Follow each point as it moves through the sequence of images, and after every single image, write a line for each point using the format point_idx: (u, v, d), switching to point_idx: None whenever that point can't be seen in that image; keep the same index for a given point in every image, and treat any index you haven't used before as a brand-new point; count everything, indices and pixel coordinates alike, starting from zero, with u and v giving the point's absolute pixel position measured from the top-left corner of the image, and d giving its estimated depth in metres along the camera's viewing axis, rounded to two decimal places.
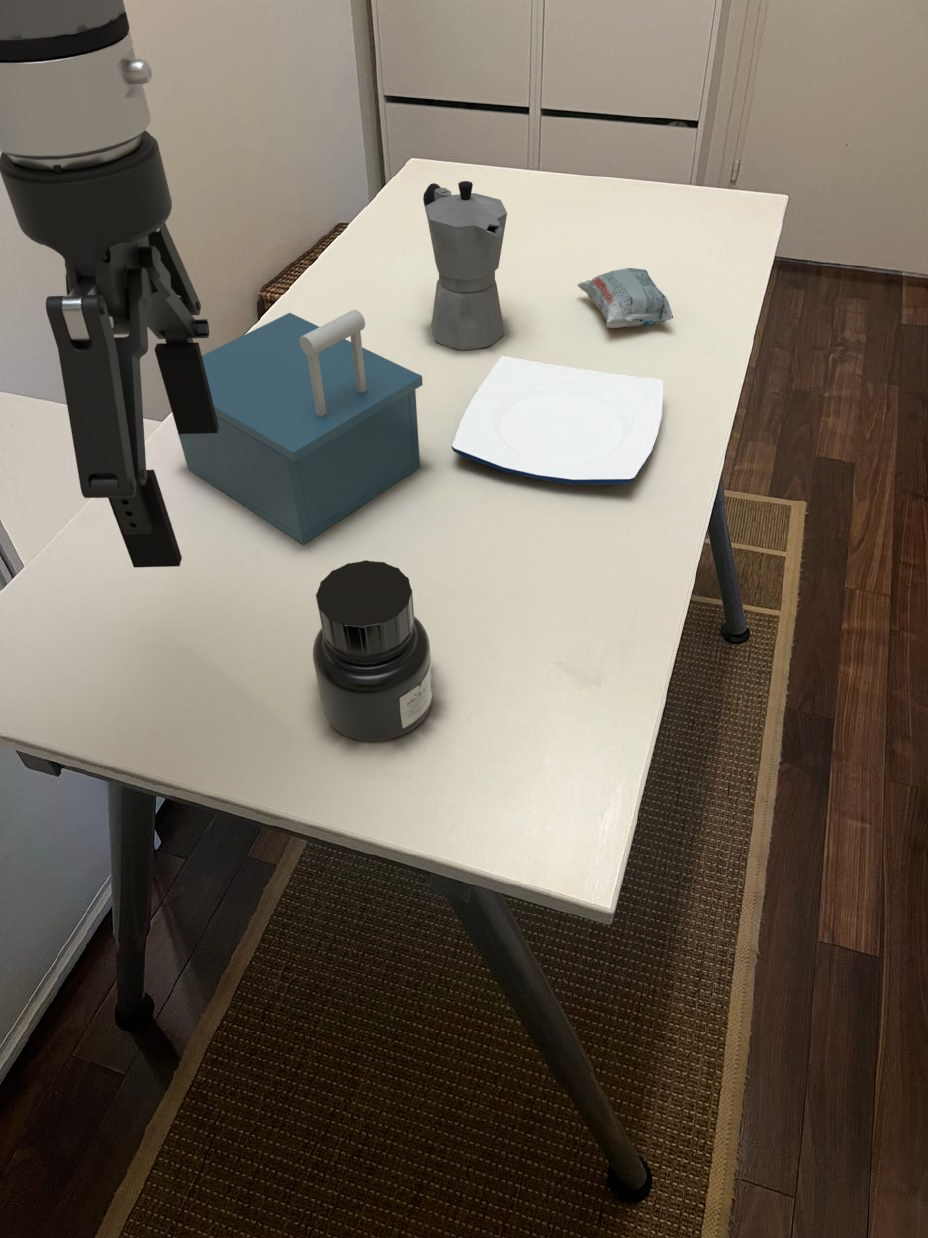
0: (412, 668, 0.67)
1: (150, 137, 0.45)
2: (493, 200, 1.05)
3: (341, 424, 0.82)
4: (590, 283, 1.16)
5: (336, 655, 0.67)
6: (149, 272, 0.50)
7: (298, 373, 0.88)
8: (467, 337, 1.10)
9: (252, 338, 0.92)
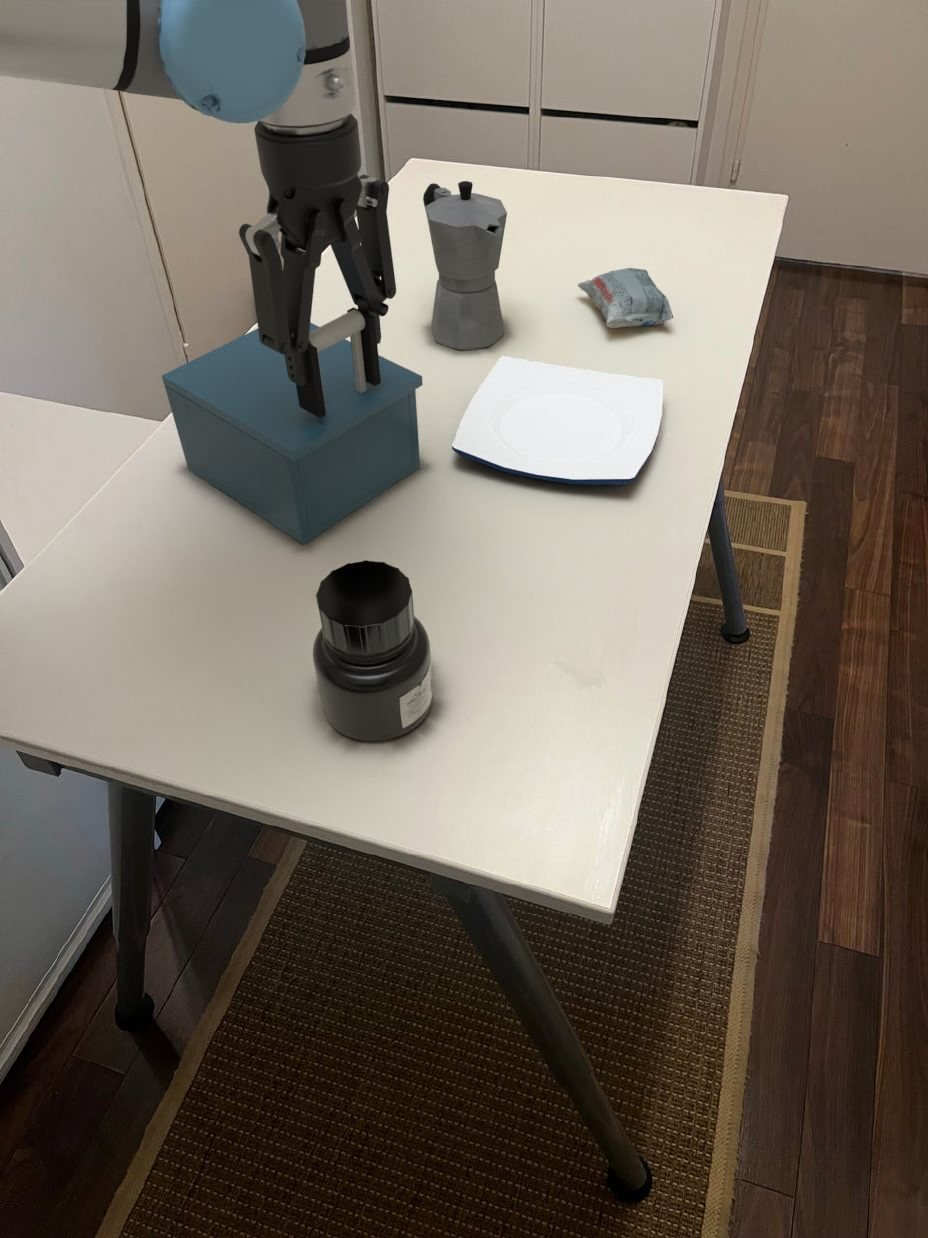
0: (412, 668, 0.67)
1: (347, 127, 0.66)
2: (493, 200, 1.05)
3: (341, 424, 0.82)
4: (590, 283, 1.16)
5: (336, 655, 0.67)
6: None
7: None
8: (467, 337, 1.10)
9: (252, 338, 0.92)
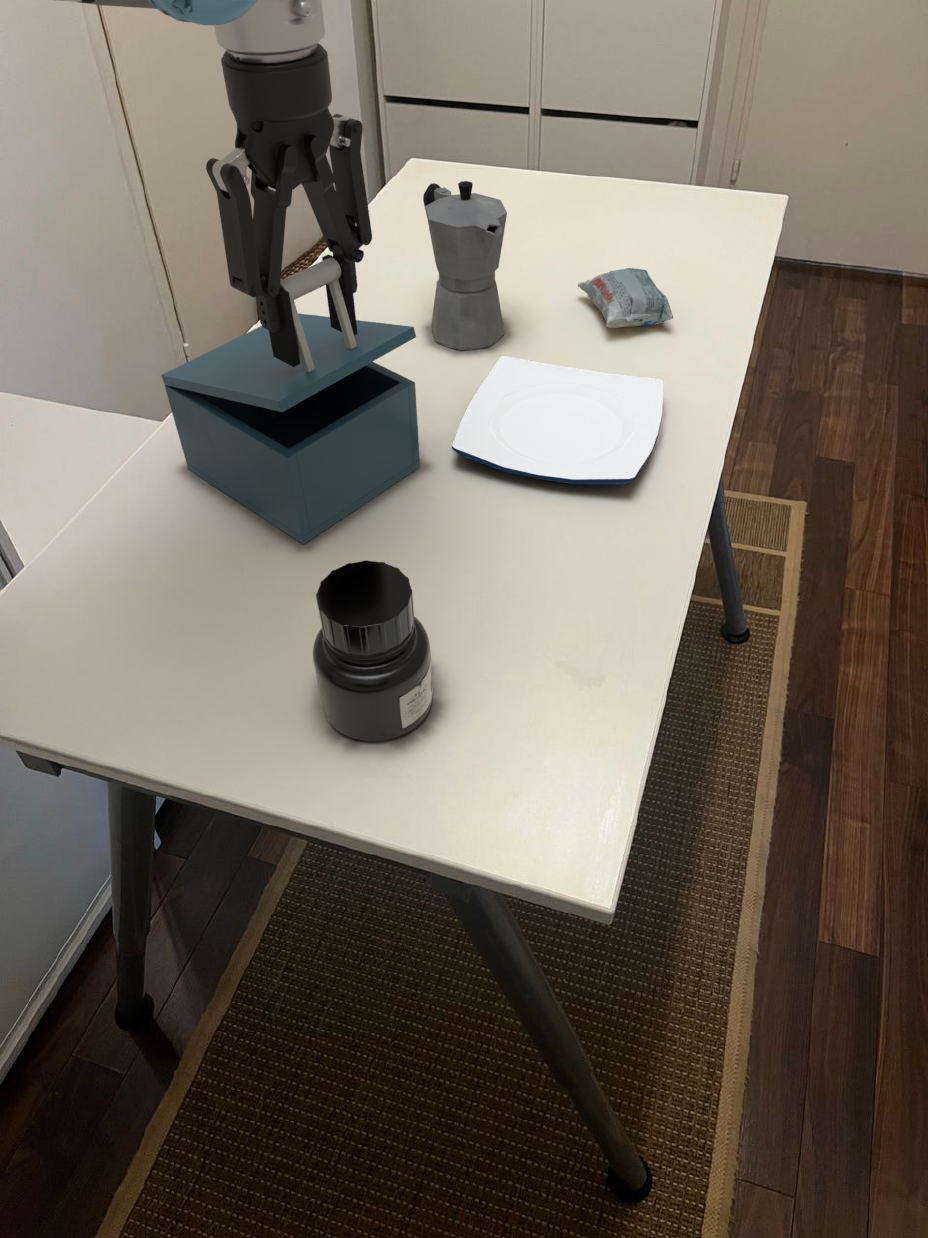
0: (412, 668, 0.67)
1: (315, 56, 0.64)
2: (493, 200, 1.05)
3: (329, 373, 0.79)
4: (590, 283, 1.16)
5: (336, 655, 0.67)
6: None
7: None
8: (467, 337, 1.10)
9: (250, 335, 0.92)
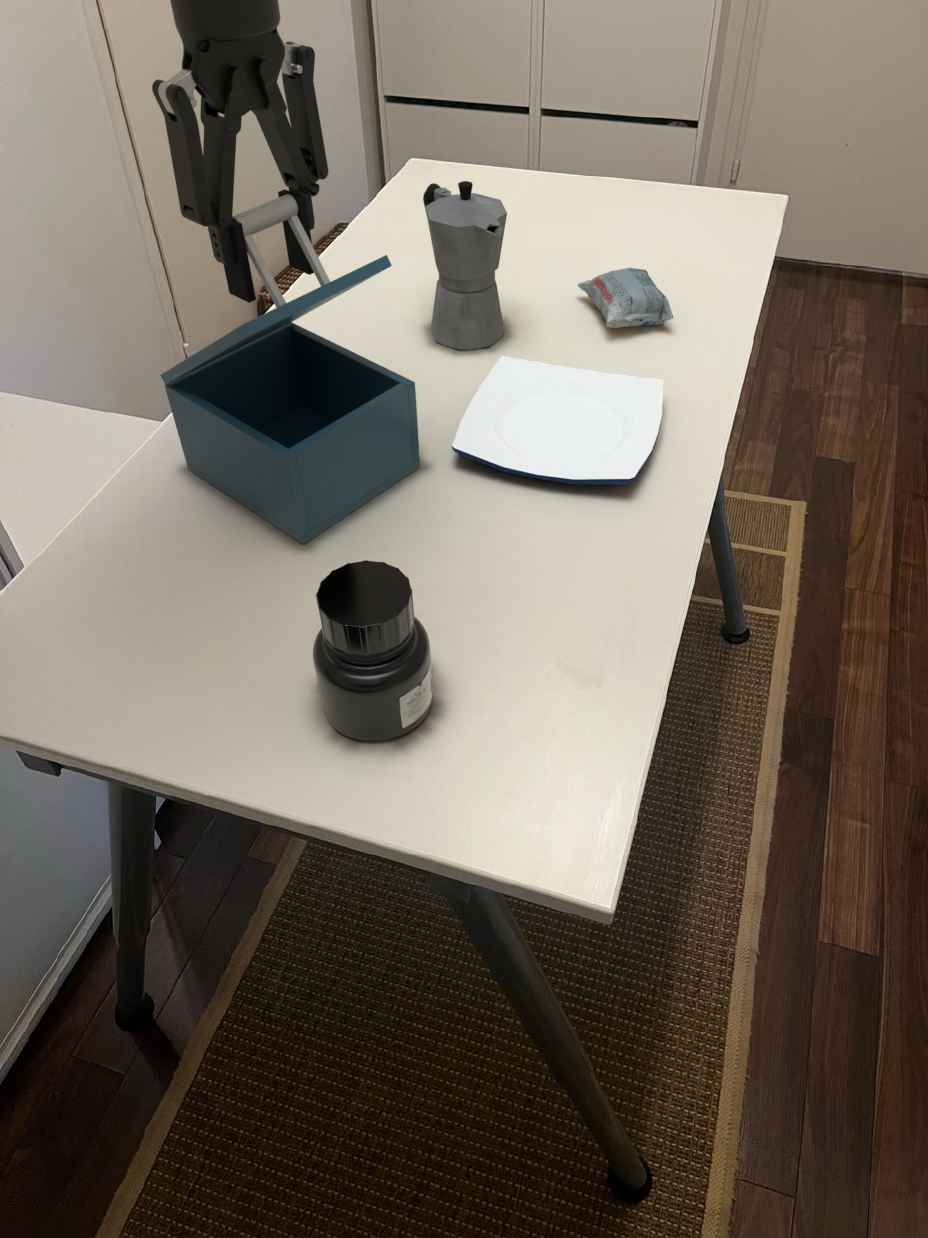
0: (412, 668, 0.67)
1: None
2: (493, 200, 1.05)
3: (297, 298, 0.76)
4: (590, 283, 1.16)
5: (336, 655, 0.67)
6: None
7: None
8: (467, 337, 1.10)
9: None
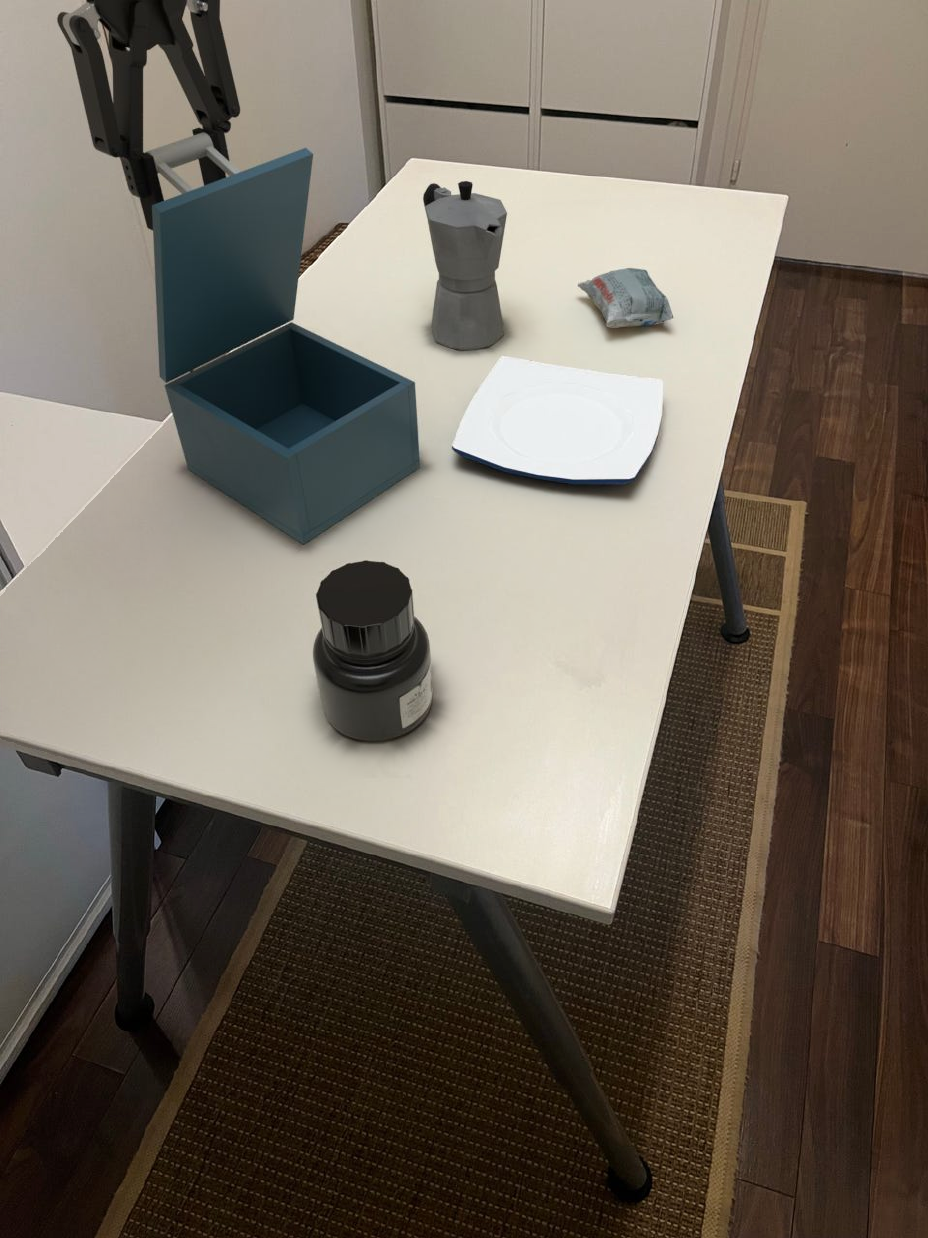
0: (412, 668, 0.67)
1: None
2: (493, 200, 1.05)
3: (210, 183, 0.75)
4: (590, 283, 1.16)
5: (336, 655, 0.67)
6: None
7: None
8: (467, 337, 1.10)
9: None
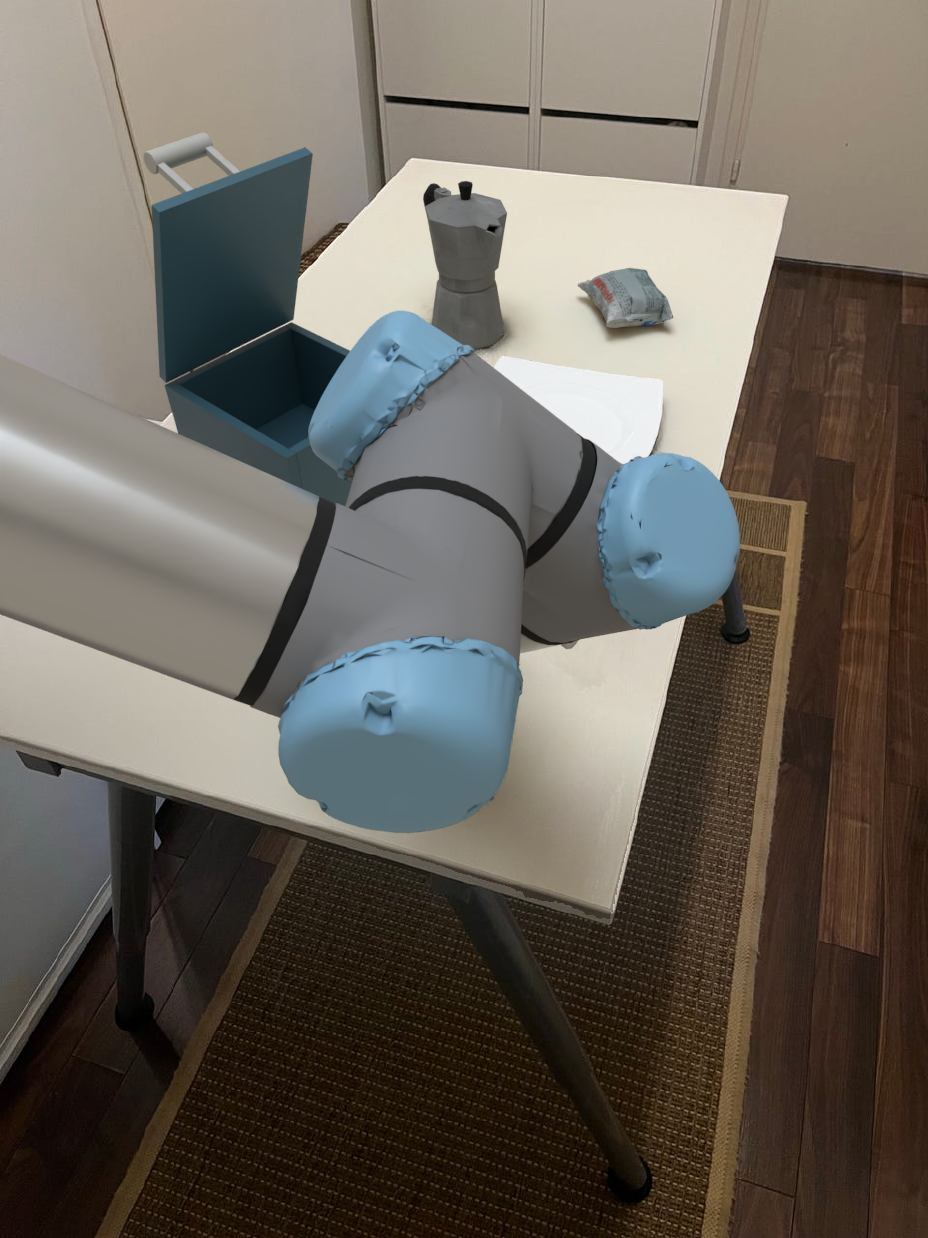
0: None
1: None
2: (493, 200, 1.05)
3: (209, 183, 0.75)
4: (590, 283, 1.16)
5: None
6: None
7: None
8: (467, 337, 1.10)
9: None
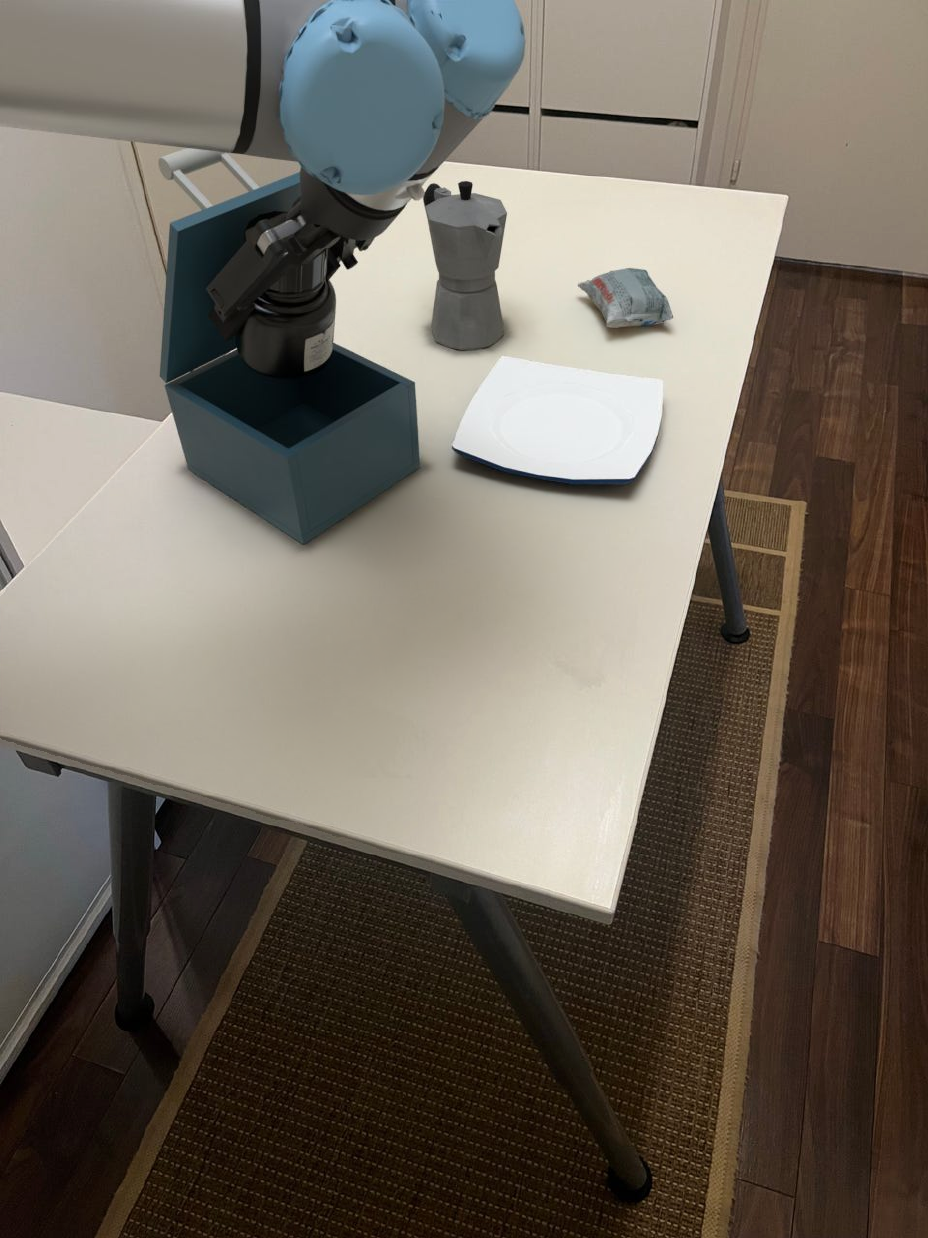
0: (319, 314, 0.79)
1: None
2: (493, 200, 1.05)
3: (227, 200, 0.75)
4: (590, 283, 1.16)
5: None
6: None
7: None
8: (467, 337, 1.10)
9: None
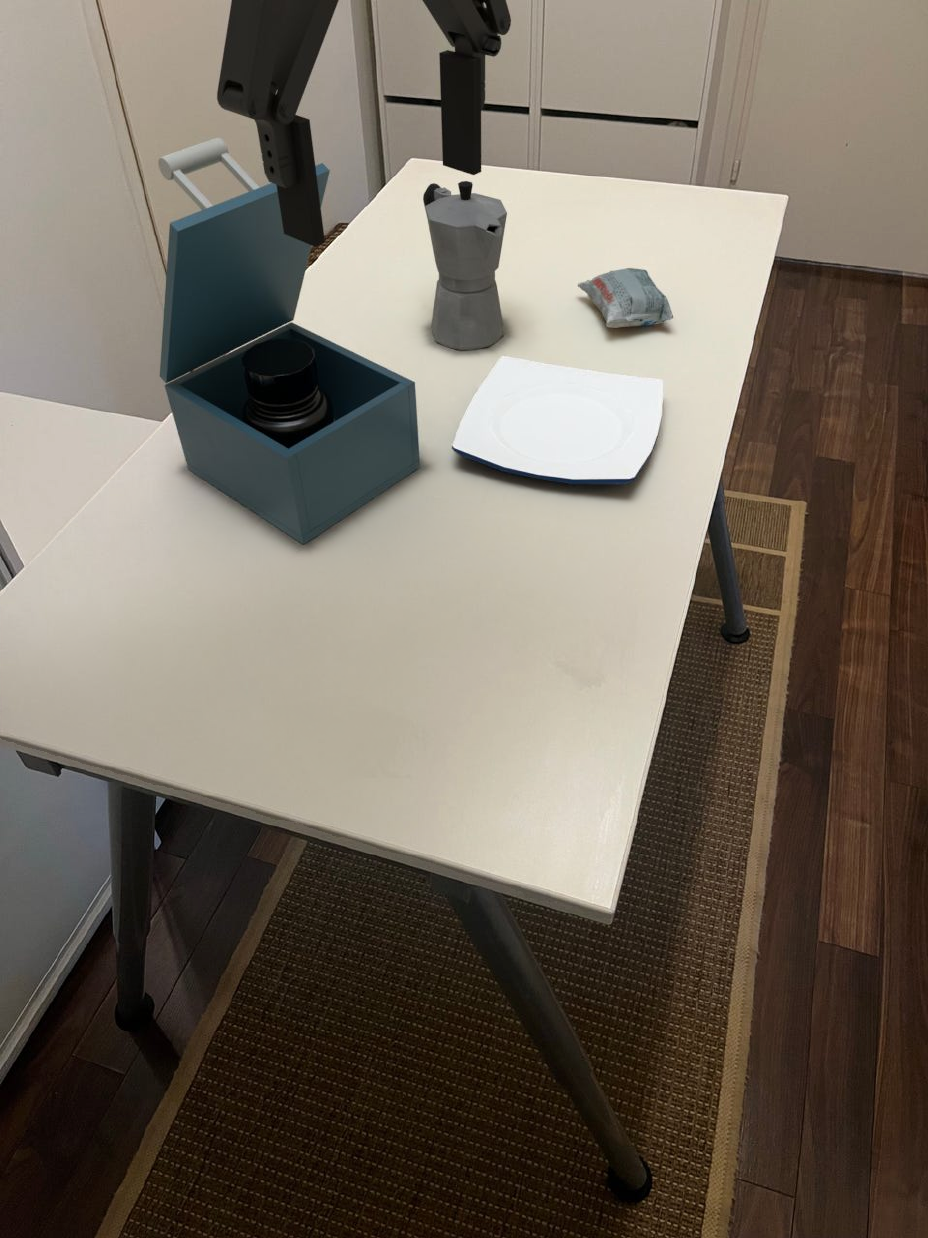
0: (316, 420, 0.88)
1: None
2: (493, 200, 1.05)
3: (227, 200, 0.75)
4: (590, 283, 1.16)
5: (258, 408, 0.88)
6: None
7: None
8: (467, 337, 1.10)
9: None
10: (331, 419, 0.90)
